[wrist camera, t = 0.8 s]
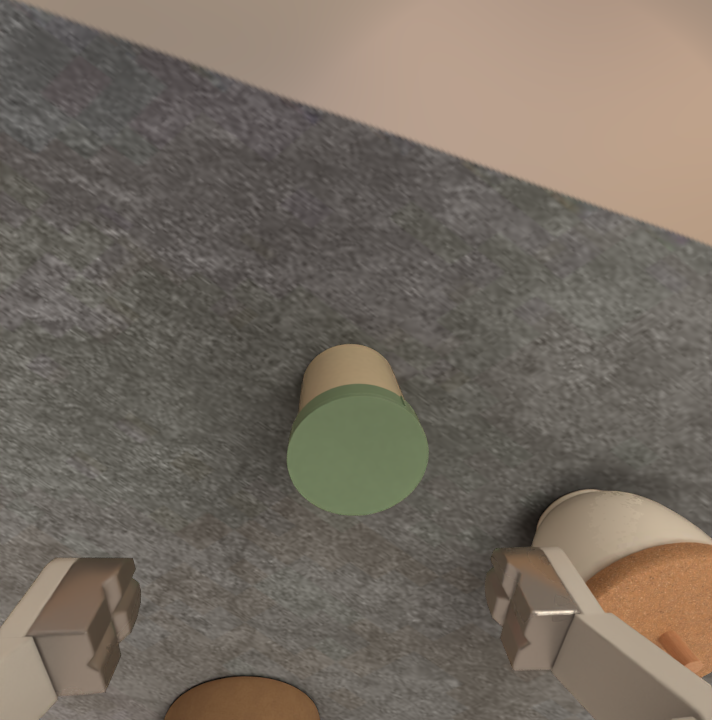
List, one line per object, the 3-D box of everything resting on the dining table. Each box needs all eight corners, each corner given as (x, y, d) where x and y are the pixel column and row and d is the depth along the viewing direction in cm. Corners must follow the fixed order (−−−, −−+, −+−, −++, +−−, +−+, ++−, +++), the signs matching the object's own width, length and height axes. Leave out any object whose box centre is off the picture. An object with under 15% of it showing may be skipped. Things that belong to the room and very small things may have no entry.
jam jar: (342, 324, 25) (348, 372, 18) (415, 380, 27) (447, 443, 20) (282, 396, 27) (266, 466, 20) (355, 444, 28) (365, 525, 21)
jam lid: (347, 355, 19) (349, 366, 17) (450, 431, 21) (458, 446, 19) (262, 455, 20) (257, 472, 19) (364, 517, 22) (366, 536, 21)
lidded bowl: (482, 502, 31) (558, 647, 21) (635, 434, 30) (796, 554, 20) (530, 598, 36) (612, 756, 26) (665, 543, 34) (809, 686, 24)
